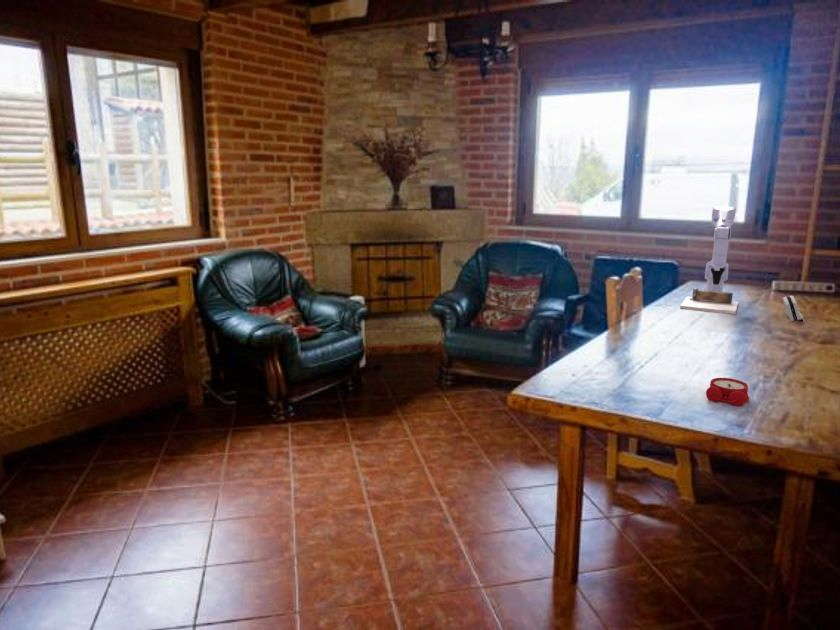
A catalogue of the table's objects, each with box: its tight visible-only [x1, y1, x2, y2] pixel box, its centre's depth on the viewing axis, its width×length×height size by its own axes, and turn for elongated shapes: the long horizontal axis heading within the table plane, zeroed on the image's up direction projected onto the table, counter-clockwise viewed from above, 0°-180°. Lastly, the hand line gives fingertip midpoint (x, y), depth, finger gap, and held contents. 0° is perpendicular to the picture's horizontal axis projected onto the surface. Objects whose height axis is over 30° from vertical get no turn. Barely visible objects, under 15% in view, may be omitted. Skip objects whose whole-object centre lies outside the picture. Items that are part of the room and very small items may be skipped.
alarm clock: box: [705, 377, 750, 407], centre depth 163 cm, size 10×6×15 cm
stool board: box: [679, 291, 739, 315], centre depth 274 cm, size 23×22×5 cm
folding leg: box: [691, 287, 734, 303], centre depth 278 cm, size 16×3×5 cm, turn 59°
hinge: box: [782, 295, 806, 323], centre depth 254 cm, size 17×5×10 cm, turn 155°
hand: (716, 284), depth 271 cm, fingers closed
